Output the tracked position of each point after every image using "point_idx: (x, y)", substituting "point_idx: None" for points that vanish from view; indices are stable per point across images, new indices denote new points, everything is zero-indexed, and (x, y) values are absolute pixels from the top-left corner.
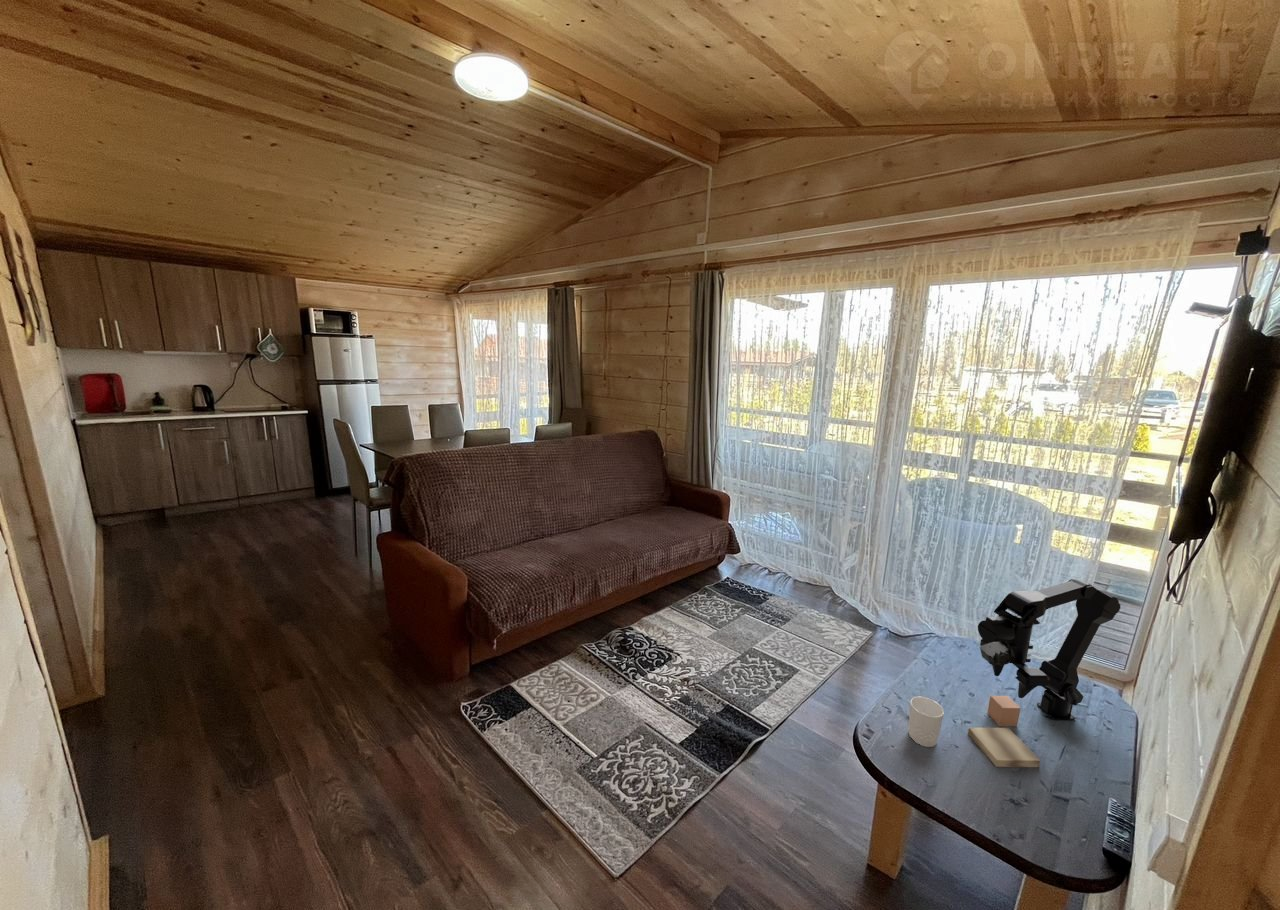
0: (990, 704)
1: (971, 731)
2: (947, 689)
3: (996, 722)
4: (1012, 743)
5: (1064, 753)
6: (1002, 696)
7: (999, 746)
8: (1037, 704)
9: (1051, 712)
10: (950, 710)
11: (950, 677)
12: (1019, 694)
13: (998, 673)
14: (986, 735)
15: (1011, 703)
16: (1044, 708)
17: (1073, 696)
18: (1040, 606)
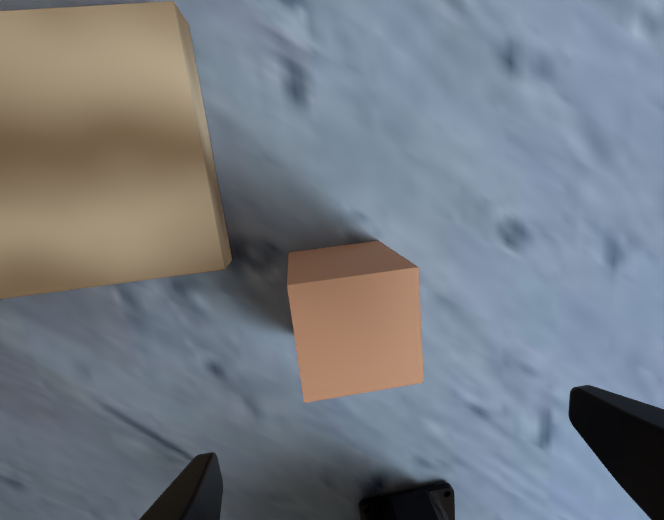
0: (385, 255)
1: (146, 6)
2: (554, 118)
3: (311, 249)
4: (83, 220)
5: (150, 443)
6: (413, 346)
7: (26, 119)
8: (444, 485)
9: (385, 517)
10: (384, 31)
11: (640, 191)
12: (168, 495)
13: (599, 437)
14: (119, 89)
15: (344, 369)
16: (407, 503)
17: None
18: None
